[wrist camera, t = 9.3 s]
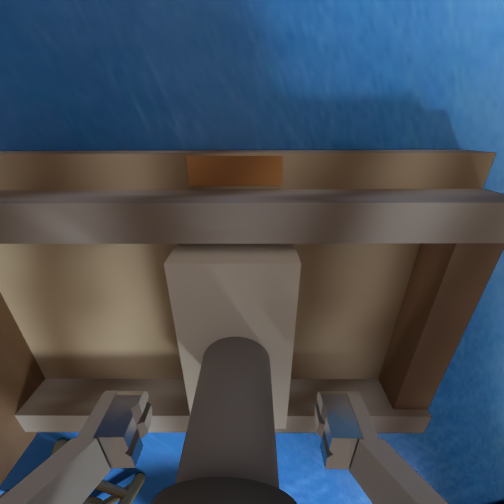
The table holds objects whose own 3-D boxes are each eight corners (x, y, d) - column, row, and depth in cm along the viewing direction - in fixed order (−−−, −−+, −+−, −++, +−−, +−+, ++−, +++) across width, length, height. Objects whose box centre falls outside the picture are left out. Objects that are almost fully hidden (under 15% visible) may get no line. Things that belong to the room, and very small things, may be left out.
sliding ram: (290, 233, 12) (371, 456, 4) (280, 378, 16) (308, 629, 8) (183, 233, 12) (33, 455, 4) (202, 378, 16) (151, 628, 8)
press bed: (460, 149, 12) (754, 174, 5) (383, 383, 20) (459, 529, 12) (-85, 151, 12) (-549, 178, 5) (40, 382, 20) (-82, 527, 13)
